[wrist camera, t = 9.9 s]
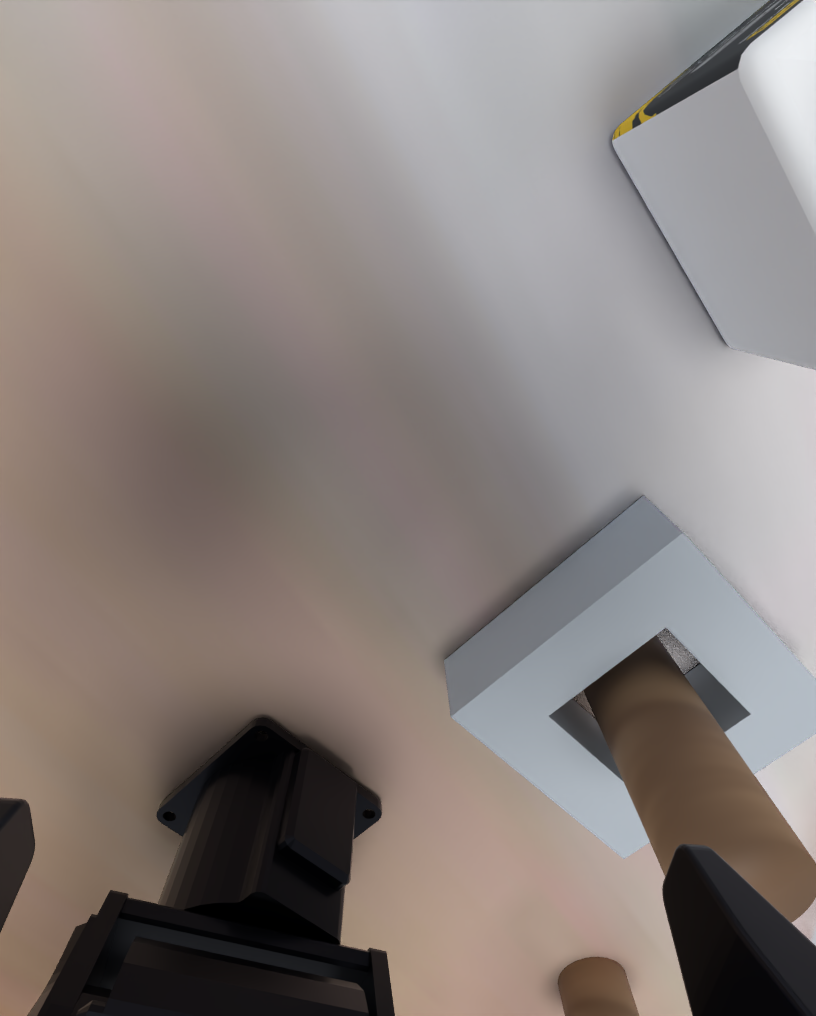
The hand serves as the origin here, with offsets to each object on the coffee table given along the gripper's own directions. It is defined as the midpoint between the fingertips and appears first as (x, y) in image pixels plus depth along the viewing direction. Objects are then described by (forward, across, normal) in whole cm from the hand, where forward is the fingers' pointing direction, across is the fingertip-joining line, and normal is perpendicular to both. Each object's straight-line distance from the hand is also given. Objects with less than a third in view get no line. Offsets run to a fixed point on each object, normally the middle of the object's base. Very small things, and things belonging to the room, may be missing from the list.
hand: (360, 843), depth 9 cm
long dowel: (+12, -9, +5) cm, 16 cm away
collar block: (+12, -9, +5) cm, 16 cm away
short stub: (+12, -12, +23) cm, 29 cm away
